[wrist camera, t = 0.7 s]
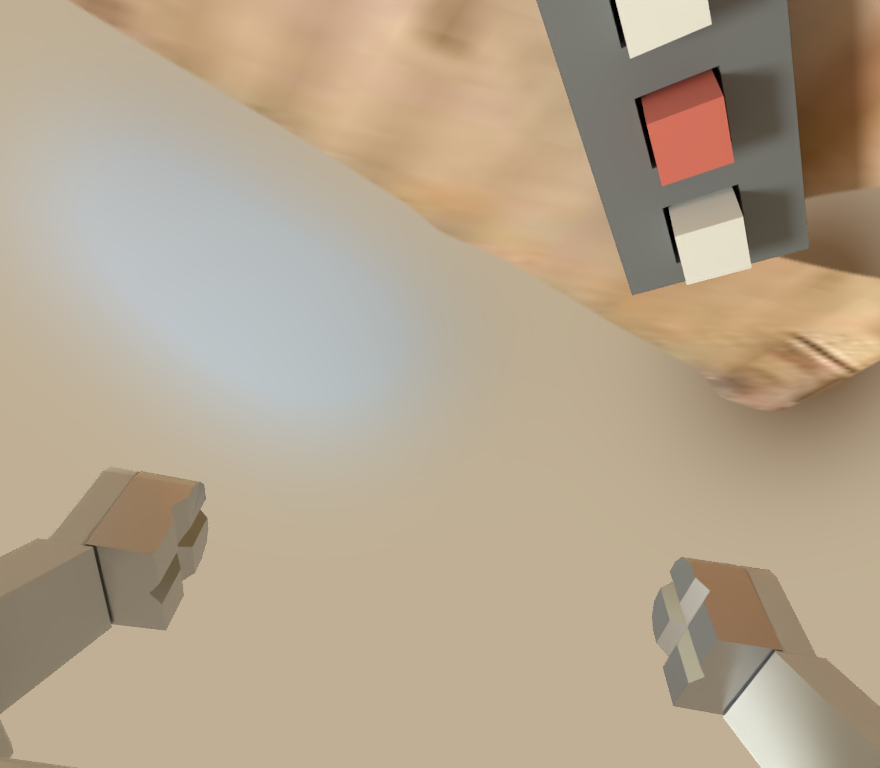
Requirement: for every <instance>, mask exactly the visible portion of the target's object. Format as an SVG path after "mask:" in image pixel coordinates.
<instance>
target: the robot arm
mask: <svg viewBox="0 0 880 768" xmlns="http://www.w3.org/2000/svg"><path fill="white" fill-rule="evenodd" d="M205 499H206V496H205V488H204V484H203V483H201V482H197V481H192V480H186V479H181V478H175V477H170V476H165V475H159V474H154V473H148V472H142V471H141V472H140V471H134V470H129V469H123V468H117V467H112V466H111V467H109V468H107V469H106V470H104V471H102V472H101V473H100V475H99V476H98V477H97V478H96V479H95V481H94V482H93V483H92V485H91V486H90V487H89V488H88V490H87V491H86V492H85V493H84V494H83V496H82V497H81V498H80V499H79V501H78V502H77V503H76V504H75V506H74V507H73V508H72V509H71V511H70V512H69V513H68V514H67V516H66V517H65V518H64V519H63V521H62V522H61V523H60V524H59V526H58V527H57V528H56V529H55V531H54V532H53V533H52V534H51V536H50V537H49V538H48V539H39V538H38V539H36V540H33V541H31V542H30V543H28V544H25V545H23V546H21V547H19V548H17V549H16V550H13V551H12V552H9V553H7V554H6V555H3V556H1V557H0V714H1V713H2V712H3V711H4V710H6V709H7V708H8V707H10V706H11V705H12V704H14V703H15V702H16V701H17V700H19V699H20V698H21V697H23V696H24V695H25V694H26V693H28V692H29V691H30V690H31V689H33V688H34V687H35V686H37V685H38V684H39V683H40V682H42V681H43V680H44V679H46V678H47V677H48V676H50V675H51V674H52V673H53V672H55V671H56V670H57V669H59V668H60V667H61V666H62V665H64V664H65V663H66V662H68V661H69V660H70V659H71V658H73V657H74V656H75V655H76V654H78V653H79V652H80V651H82V650H83V649H84V648H86V647H87V646H88V645H89V644H91V643H92V642H93V641H94V640H96V639H97V638H98V637H100V636H101V635H102V634H104V633H105V632H106V631H107V630H109V629H110V628H111V624H116V625H125V626H133V627H142V628H150V629H158V630H166V629H167V627H168V625H169V623H170V621H171V619H172V617H173V615H174V613H175V611H176V609H177V607H178V605H179V603H180V601H181V600H182V597H183V585H182V581H183V580H184V579H186V578H187V577H189V576H190V575H192V574H194V573H195V571H196V569H197V567H198V565H199V563H200V561H201V559H202V555H203V552H204V549H205V545H206V541H207V533H208V521H207V520H208V519H207V517H206V516H205V515H204V514H203V512H202V511H201V510H200V509H201V507H202V505H203V503H204V501H205ZM670 573H671V576H672V579H673V582H671V583H669V584H667V585H665V586H664V587H662V588H661V589H660V590H659V592H658V594H657V596H656V599H655V601H654V607H653V615H652V621H653V631H654V635H655V639H656V643H657V644H658V645H659V646H660V647H661V648H662V650H663V651H664V652H665V653H666V654H667V655H668V656H669V657H668V659H667V661H666V663H665V665H664V667H663V669H664V673H665V677H666V681H667V684H668V688H669V692H670V695H671V699H672V702H673V706H677V707H682V708H688V709H693V710H699V711H705V712H710V713H716V714H722V715H725V716H724V717H723V718H724V719H725V720H726V722H727V723H728V724H729V726H730V727H731V728H732V730H733V731H734V732H735V734H736V735H737V736H738V738H739V739H740V740H741V742H742V743H743V744H744V746H745V747H746V748H747V750H748V751H749V752H750V753H751V755H752V756H753V758H754V759H755V760H756V761H757V763H758V764H759V765H760V767H761V768H880V707H879V706H878V705H877V704H876V703H875V702H874V701H873V700H872V699H871V698H869V697H868V696H867V695H866V694H865V693H864V692H863V691H862V690H860V689H859V688H858V687H857V686H856V685H855V684H854V683H853V682H852V681H850V680H849V679H848V678H847V677H846V676H845V675H844V674H842V673H841V672H840V671H839V670H838V669H837V668H836V667H835V666H834V665H832V664H831V663H830V662H829V661H828V660H827V659H825V658H819V657H817V656H816V654H815V652H814V650H813V649H812V646H811V644H810V643H809V640H808V638H807V636H806V634H805V632H804V630H803V629H802V626H801V624H800V623H799V620H798V618H797V617H796V614H795V613H794V611H793V609H792V607H791V605H790V603H789V601H788V599H787V597H786V595H785V593H784V591H783V589H782V587H781V585H780V583H779V581H778V579H777V577H776V576H775V575H774V574H773V573H772V572H771V571H770V570H766V569H759V568H752V567H746V566H737V565H732V564H726V563H719V562H712V561H705V560H698V559H691V558H684V557H681V558H680V559H679V560H677V561H676V562H675V564H674V565H673V567H672V569H671V570H670ZM12 754H13V749H12V745H11V741H10V739H9V737H8V735H7V733H6V731H5V729H4V727H3V725H2V723H1V721H0V768H75V767H67V766H60V765H53V764H46V763H39V762H32V761H25V760H17V759H10V757H11V755H12Z"/></svg>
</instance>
